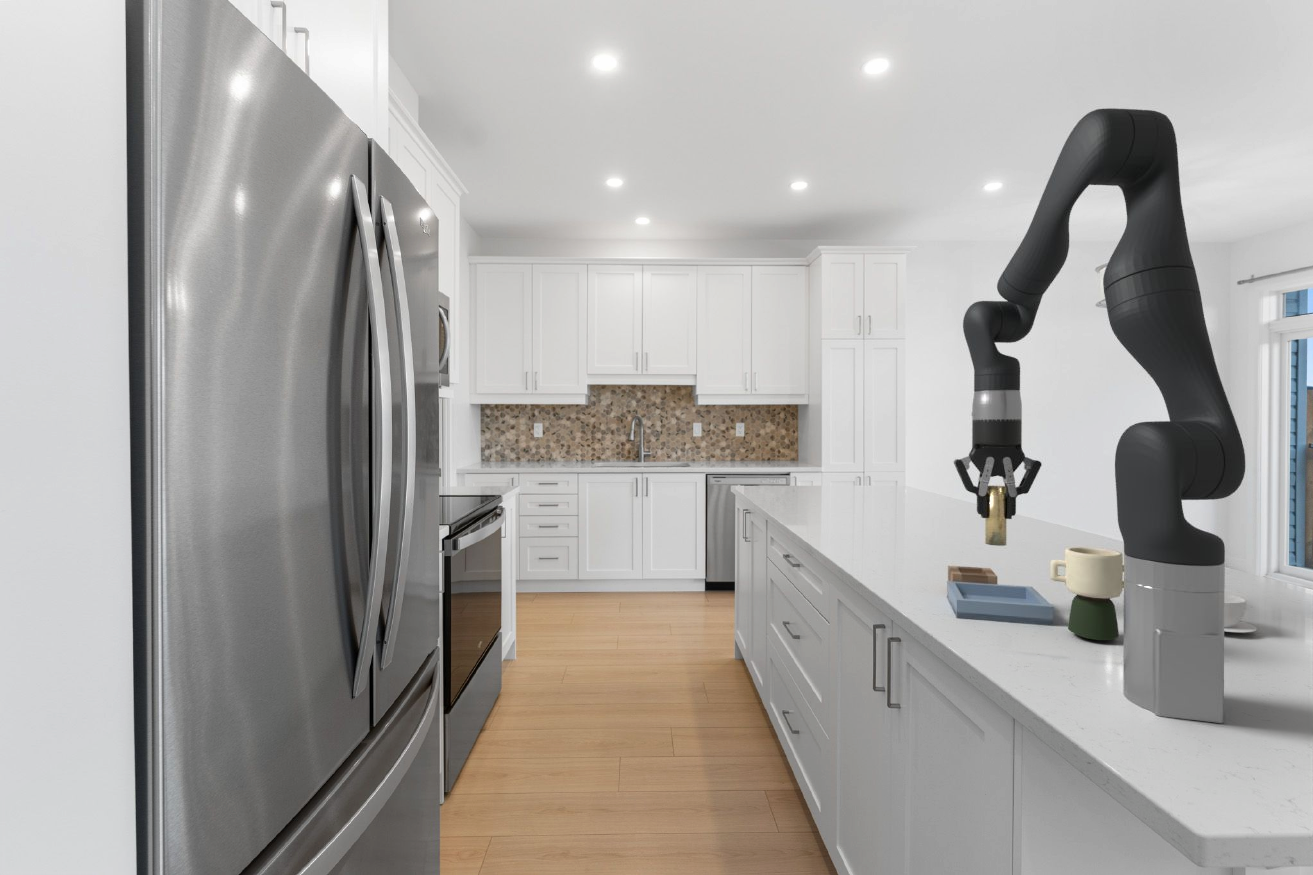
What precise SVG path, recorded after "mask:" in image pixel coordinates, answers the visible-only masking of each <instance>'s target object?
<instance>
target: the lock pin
mask: <svg viewBox="0 0 1313 875" xmlns="http://www.w3.org/2000/svg"><path fill="white" fill-rule="evenodd" d="M986 496H987V518H984V519H985V525H984V526H985V529H984V530H985V533H984V534H985V537H984V538H985V543H984V544H985V545H989V546H996V547H997V546H998V547H1001V546H1002V547H1003V546H1007V519H1006V486H1005V485H988V488H987V493H986Z"/></svg>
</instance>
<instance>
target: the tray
mask: <svg viewBox="0 0 1313 875" xmlns="http://www.w3.org/2000/svg"><path fill="white" fill-rule="evenodd" d="M946 598H947V601H948V603H949V604H950V607H951V609H952V611H953V613H954V616H955V617H956V619H966V620H977V621H978V620H979V621H991V622H1001V623H1006V622H1007V623H1015V624H1016V623H1017V624H1025V625H1026V624H1029V625H1037V626H1038V625H1041V626H1050V627H1051V626H1054V605H1052V604H1051V603H1050V602H1049V601H1048V600H1047V599H1046V598H1045V597H1043V596H1042V595H1041V594H1040V593H1039V592H1038V591H1037V589H1035V588H1034V587H1033V586H1029V585H1026V586H1025V585H1015V584H1014V585H1013V584H1011V585H1010V584H1000V583H997V584H983V583H968V582H952V581H948V580H947V581H946Z"/></svg>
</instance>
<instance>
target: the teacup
mask: <svg viewBox="0 0 1313 875" xmlns="http://www.w3.org/2000/svg"><path fill="white" fill-rule="evenodd" d="M1246 606H1247V600H1246V599H1245V598H1243V597H1240V596H1237V595H1233V594H1229V593H1224V633H1225V632H1226V633H1243V634H1244V633H1253V632H1256V631H1257V630H1258V628H1257V626H1255V625H1253V624H1251V623H1249V622H1246V621H1245V622H1244V621H1242V619H1243V617H1244V615H1245V611H1246Z"/></svg>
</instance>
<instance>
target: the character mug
mask: <svg viewBox="0 0 1313 875" xmlns="http://www.w3.org/2000/svg"><path fill="white" fill-rule="evenodd" d="M1064 551H1065V552H1064V558H1065V559H1052V560H1051V561H1050V571H1049V572H1050V579H1051V581H1054V582H1061V583H1064V586H1065V588H1066V590H1067V591H1068V592H1069V593H1072V594H1074V595H1075V596H1074V597H1073V598H1072V600H1071V607H1070V612H1069V617H1068V623H1067V624H1068V625H1067V629H1068V630H1069V632H1071V633H1073V634H1075V635H1077V636H1078V637H1083V638H1084V639H1085V638H1086V639H1089V640H1090V639H1091V640H1095V641H1096V640H1097V641H1110V640H1111V641H1112V640H1114V639H1117V638H1118V637H1119V636H1120V633H1119V625H1118V618H1117V611H1116V606H1115V603H1114V602H1113V600H1111V599H1115V598H1119V597H1120V596H1121V594H1122V592H1123V589H1124V580H1123V578H1124V555H1123V553H1122V552H1119V551H1116V550H1112V549H1105V548H1099V547H1098V548H1097V547H1089V546H1087V547H1084V546H1081V547H1080V546H1075V547H1074V546H1072V547H1067V548H1066V549H1065V550H1064ZM1059 567H1065V568H1064V575H1060V574H1059Z"/></svg>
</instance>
